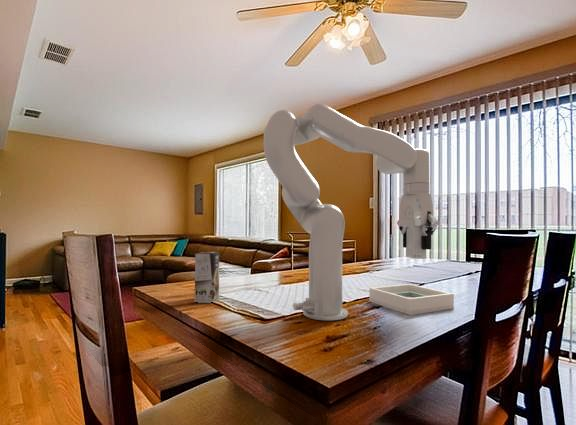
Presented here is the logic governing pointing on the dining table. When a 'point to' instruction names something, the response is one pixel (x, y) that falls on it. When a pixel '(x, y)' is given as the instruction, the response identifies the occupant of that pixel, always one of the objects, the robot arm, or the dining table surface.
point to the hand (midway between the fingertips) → (416, 247)
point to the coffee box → (206, 277)
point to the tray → (411, 298)
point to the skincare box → (414, 242)
